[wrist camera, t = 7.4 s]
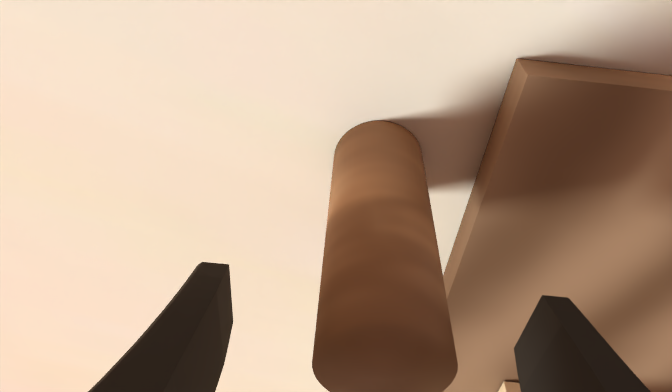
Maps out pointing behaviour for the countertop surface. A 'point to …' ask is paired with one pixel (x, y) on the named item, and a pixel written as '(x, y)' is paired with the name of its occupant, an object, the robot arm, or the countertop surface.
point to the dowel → (382, 272)
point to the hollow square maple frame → (510, 387)
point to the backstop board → (568, 221)
